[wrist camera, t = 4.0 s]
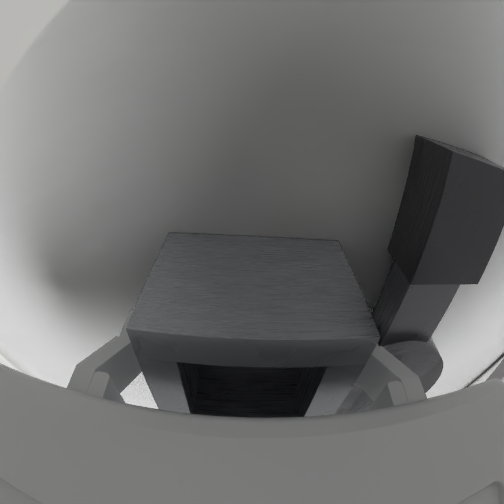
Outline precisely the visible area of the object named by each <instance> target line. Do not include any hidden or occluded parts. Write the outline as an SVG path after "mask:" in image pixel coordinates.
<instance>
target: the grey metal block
mask: <svg viewBox="0 0 504 504" xmlns="http://www.w3.org/2000/svg"><path fill="white" fill-rule="evenodd" d="M126 331H127V333H128V336H129V339H130V342H131V344H132V347H133V350H134V352H135V355H136V357H137V360H138V363H139V365H140V368H141V370H142V372H143V375H144V377H145V380H146V382H147V384H148V386H149V389H150V391H151V393H152V395H153V398H154V400H155V402H156V404H157V406H158V408H159V409H160V410H166V411H174V412H182V413H190V414H200V415H212V416H227V417H257V418H277V417H306V416H321V415H333V414H335V413H336V411H337V410H338V408H339V407H340V405H341V404H342V402H343V401H344V399H345V398H346V396H347V395H348V393H349V391H350V390H351V388H352V387H353V385H354V383H355V382H356V380H357V378H358V377H359V375H360V373H361V372H362V370H363V368H364V367H365V365H366V363H367V361H368V360H369V358H370V356H371V354H372V352H373V350H374V349H375V347H376V345H377V343H378V341H379V339H380V335H379V332H378V330H377V327H376V325H375V322H374V320H373V317H372V315H371V313H370V310H369V308H368V305H367V303H366V301H365V298H364V296H363V294H362V292H361V289H360V287H359V285H358V283H357V280H356V278H355V276H354V274H353V272H352V269H351V267H350V265H349V263H348V261H347V259H346V257H345V254H344V252H343V250H342V248H341V246H340V244H339V242H338V241H330V240H313V239H295V238H276V237H257V236H236V235H213V234H189V233H169V234H168V236H167V238H166V240H165V242H164V244H163V246H162V248H161V250H160V252H159V254H158V257H157V259H156V261H155V263H154V265H153V267H152V269H151V272H150V274H149V276H148V278H147V280H146V283H145V285H144V287H143V289H142V292H141V294H140V296H139V298H138V301H137V303H136V305H135V308H134V310H133V312H132V315H131V317H130V320H129V322H128V325H127V327H126Z"/></svg>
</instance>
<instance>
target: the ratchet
mask: <svg viewBox="0 0 504 504" xmlns="http://www.w3.org/2000/svg"><path fill="white" fill-rule="evenodd" d="M503 226H504V168H503V167H501V166H499V165H498V164H496V163H494V162H492V161H490V160H488V159H486V158H484V157H482V156H479V155H477V154H474V153H471V152H469V151H466V150H463V149H460V148H457V147H454V146H451V145H448V144H445V143H442V142H439V141H435V140H432V139H429V138H425V137H422V136H418V135H416V139H415V145H414V150H413V155H412V160H411V164H410V169H409V173H408V178H407V182H406V186H405V190H404V194H403V198H402V202H401V206H400V209H399V213H398V216H397V220H396V223H395V227H394V230H393V233H392V237H391V240H390V243H389V246H388V249H387V250H388V251H389V253H390V254H391V256H392V257H393V259H394V260H393V263H392V266H391V268H390V271H389V274H388V276H387V279H386V282H385V284H384V287H383V289H382V292H381V294H380V297H379V299H378V302H377V304H376V307H375V309H374V311H373V314H372V317H373V320H374V322H375V325H376V327H377V330H378V332H379V335H380V339H379V341H378V346H382V347H383V348H385V349H386V350H387V351H388V352H389V353H391V354H392V355H393V356H394V357H396V358H397V359H398V360H399V361H400V362H402V363H403V364H404V365H405V366H407V367H408V368H409V369H410V370H411V371H413V372H414V373H415V374H416V375H418V376H419V379H420V381H421V384H422V386H423V389H424V392H425V393H426V392H427V391H428V390H429V389H430V388H431V387H432V386H433V385H434V384H435V382H436V381H437V380H438V378H439V377H440V375H441V372H442V369H443V361H442V358H441V356H440V354H439V352H438V350H437V348H436V346H435V344H434V342H433V340H432V338H431V335H432V334H433V332H434V331H435V329H436V327H437V326H438V324H439V322H440V321H441V319H442V317H443V315H444V314H445V312H446V310H447V308H448V306H449V305H450V303H451V301H452V299H453V297H454V295H455V293H456V291H457V290H458V288H459V286H460V284H478V282H479V281H480V279H481V277H482V274H483V272H484V270H485V268H486V266H487V264H488V262H489V260H490V257H491V255H492V253H493V251H494V248H495V246H496V243H497V241H498V239H499V236H500V234H501V231H502V228H503ZM373 403H374V402H373V401H372V400H371V398H370V397H369V396H368V395H367V394H366V393H365V392H364V390H363V389H362V388H361V387H360V386H359V385H358V384H357V383H356V382H355V383H354V385H353V387H352V388H351V390H350V391H349V393H348V395H347V396H346V398H345V399H344V401H343V402H342V404H341V405H340V407H339V408H338V410H337V411H336V413H335V414H343V413H352V412H359V411H367V410H368V409H369V408H370V406H371V405H372V404H373Z"/></svg>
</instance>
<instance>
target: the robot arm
mask: <svg viewBox="0 0 504 504" xmlns="http://www.w3.org/2000/svg"><path fill="white" fill-rule="evenodd" d="M133 310H134V308H133V309H131V310H130V312H129V314H128V317H127V319H126V321H125V324H124V326H123V329H122V331H121V333H120V336H119V337H117V336H116V337H115V338H113V339H112V340H110V341H109V342H108V343H106V344H105V345H103V346H102V347H101V348H99V349H98V350H96V351H95V352H94V353H92V354H91V355H90V356H88V357H87V358H85V359H84V360H83V361H81V362H80V363H79V364H77V365H76V368H75V370H74V372H73V374H72V377H71V379H70V382H69V384H68V386H67V388H64V387H61V386H58V385H55V384H52V383H49V382H46V381H43V380H40V379H38V378H35V377H32V376H30V375H27V374H24V373H22V372H19V371H17V370H15V369H12V368H10V367H8V366H5V365H3V364H1V363H0V504H504V382H503V381H501V380H500V379H497V378H494V379H490V380H488V381H485V382H482V383H479V384H476V385H473V386H470V387H467V388H464V389H461V390H458V391H454V392H451V393H447V394H444V395H440V396H436V397H432V398H428V399H427V397H426V394H425V392H424V389H423V386H422V384H421V381H420V379H419V376H418V375H416V374H415V373H414V372H413V371H411V370H410V369H409V368H408V367H407V366H405V365H404V364H403V363H402V362H400V361H399V360H398V359H397V358H396V357H394V356H393V355H392V354H391V353H389V352H388V351H387V350H386V349H385V348H383V347H382V346H378V343H377V345H376V347H375V349H374V350H373V352H372V354H371V356H370V358H369V360H368V361H367V363H366V365H365V367H364V368H363V370H362V372H361V373H360V375H359V377H358V378H357V380H356V383H357V384H358V385H359V386H360V387H361V388H362V389H363V390H364V392H365V393H366V394H367V395H368V396H369V397H370V398H371V400H372V401H373V402H374V403H373V404H372V405H371V406H370V408H369V409H368V410H367V411H359V412H352V413H343V414H333V415H321V416H306V417H277V418H257V417H227V416H212V415H200V414H190V413H182V412H174V411H166V410H160V409H153V408H147V407H142V406H136V405H131V404H126V403H125V401H124V400H123V398H122V396H121V395H120V393H121V392H122V391H123V390H124V389H125V388H126V387H127V386H128V385H129V384H130V383H131V382H132V381H133V380H134V379H135V378H136V377H137V376H138V375H139V374H140V373H141V372H142V370H141V368H140V365H139V363H138V360H137V357H136V355H135V352H134V350H133V347H132V344H131V342H130V339H129V336H128V333H127V331H126V327H127V325H128V322H129V320H130V317H131V315H132V312H133Z"/></svg>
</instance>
